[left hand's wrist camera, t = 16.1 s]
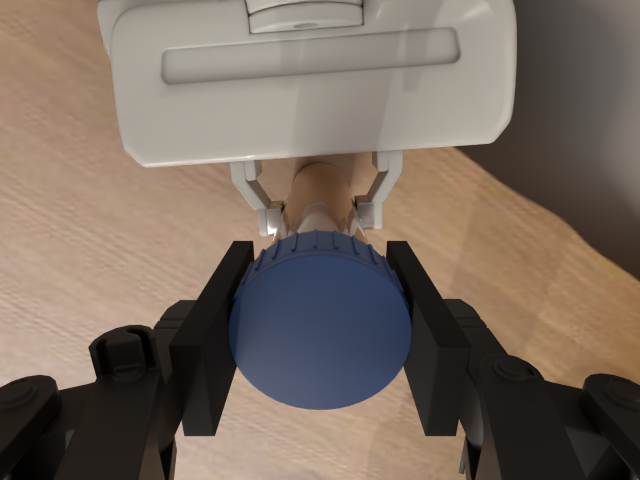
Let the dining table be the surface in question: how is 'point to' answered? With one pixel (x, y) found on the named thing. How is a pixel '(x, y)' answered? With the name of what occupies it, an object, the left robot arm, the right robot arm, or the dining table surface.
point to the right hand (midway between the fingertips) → (321, 230)
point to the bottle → (320, 204)
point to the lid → (320, 321)
